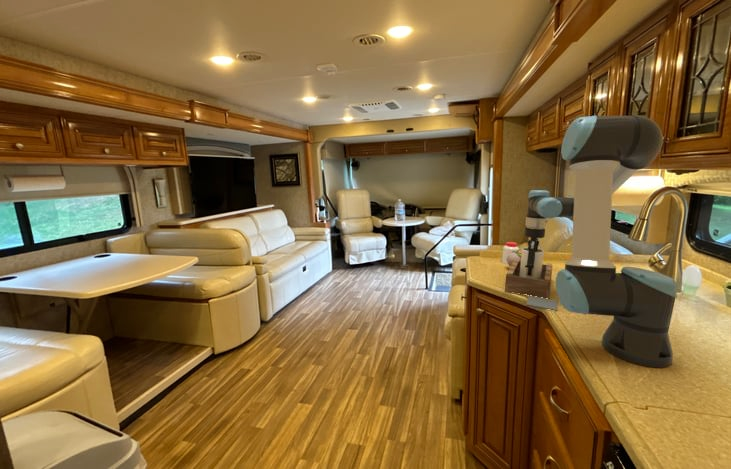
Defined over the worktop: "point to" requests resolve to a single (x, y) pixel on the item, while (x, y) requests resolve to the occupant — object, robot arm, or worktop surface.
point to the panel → (542, 303)
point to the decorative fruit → (513, 257)
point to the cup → (537, 264)
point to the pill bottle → (508, 250)
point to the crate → (528, 281)
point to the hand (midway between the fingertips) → (529, 279)
